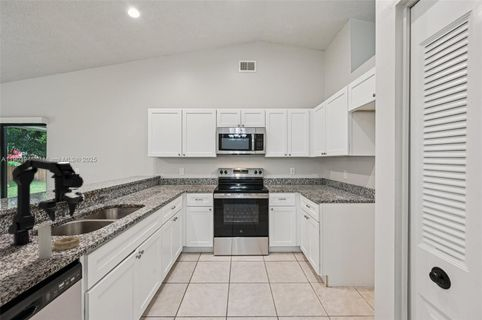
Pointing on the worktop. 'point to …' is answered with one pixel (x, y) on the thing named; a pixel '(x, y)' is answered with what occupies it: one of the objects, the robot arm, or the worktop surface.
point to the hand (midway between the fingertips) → (62, 219)
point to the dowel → (44, 241)
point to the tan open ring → (66, 243)
